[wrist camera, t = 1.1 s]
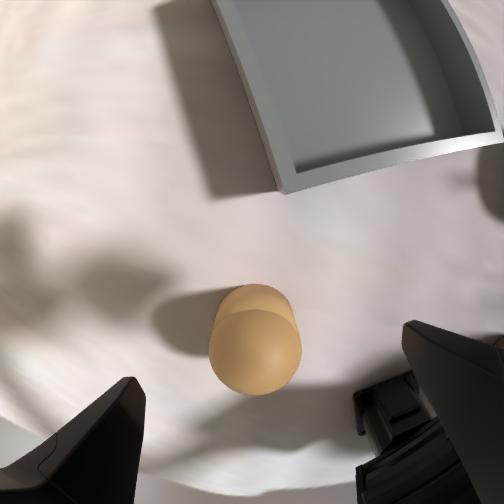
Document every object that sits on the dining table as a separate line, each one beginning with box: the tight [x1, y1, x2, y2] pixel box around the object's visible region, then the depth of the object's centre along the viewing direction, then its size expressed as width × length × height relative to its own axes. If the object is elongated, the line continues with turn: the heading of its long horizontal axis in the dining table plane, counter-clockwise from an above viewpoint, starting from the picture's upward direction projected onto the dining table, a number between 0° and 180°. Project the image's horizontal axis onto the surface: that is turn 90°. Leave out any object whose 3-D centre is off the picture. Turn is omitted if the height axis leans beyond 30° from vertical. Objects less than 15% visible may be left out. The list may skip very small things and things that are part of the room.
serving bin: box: [210, 0, 504, 195], centre depth 13 cm, size 16×16×4 cm
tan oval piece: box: [208, 284, 302, 395], centre depth 17 cm, size 5×5×7 cm
